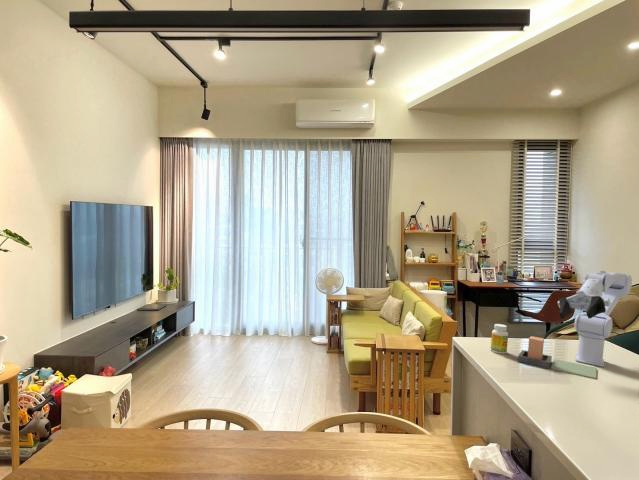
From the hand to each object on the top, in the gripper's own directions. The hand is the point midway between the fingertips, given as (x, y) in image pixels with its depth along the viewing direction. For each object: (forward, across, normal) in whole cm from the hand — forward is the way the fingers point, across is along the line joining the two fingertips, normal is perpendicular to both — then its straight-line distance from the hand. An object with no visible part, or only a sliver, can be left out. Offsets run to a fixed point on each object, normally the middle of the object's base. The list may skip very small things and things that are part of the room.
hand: (574, 315), depth 123 cm
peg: (+5, -15, +14) cm, 21 cm away
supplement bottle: (+5, -27, +11) cm, 30 cm away
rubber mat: (+1, -6, +18) cm, 19 cm away
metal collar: (+5, -15, +14) cm, 21 cm away
